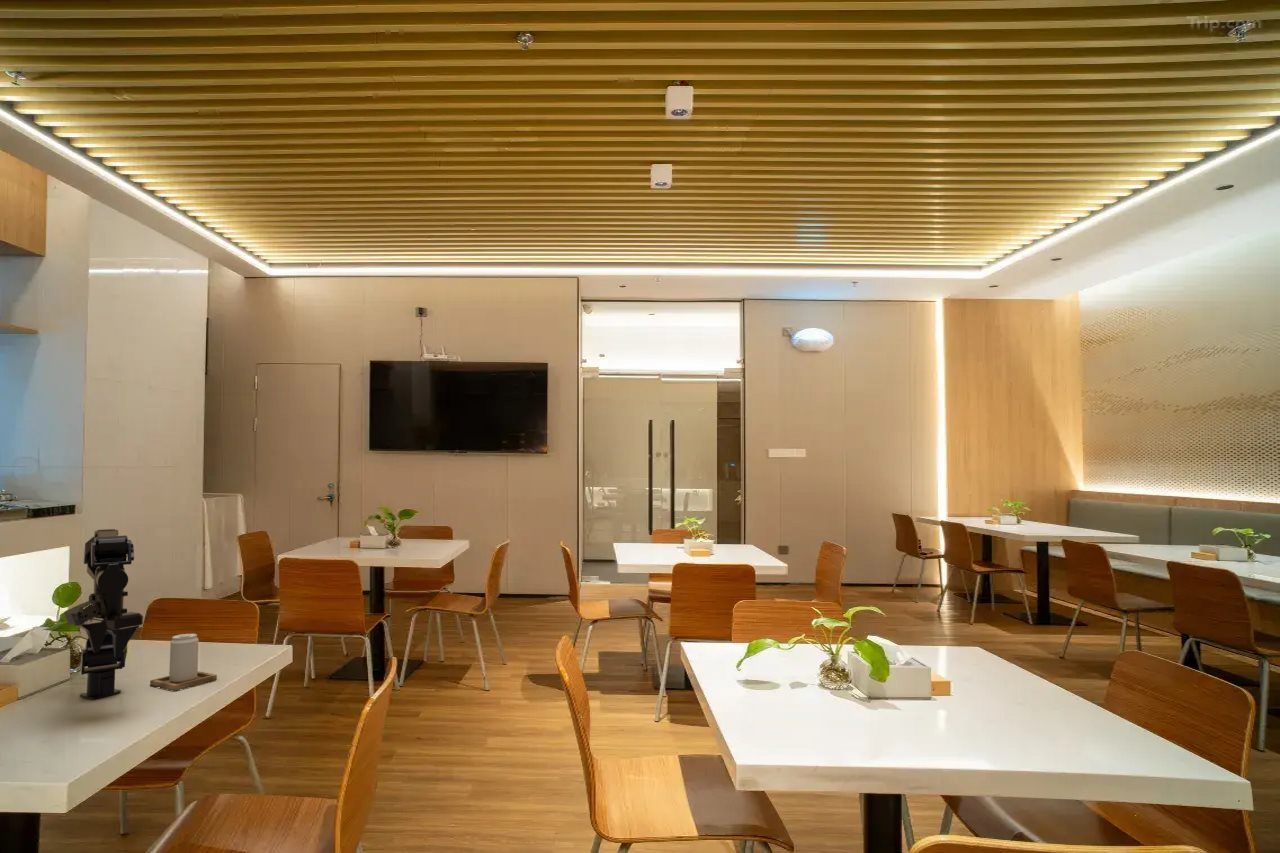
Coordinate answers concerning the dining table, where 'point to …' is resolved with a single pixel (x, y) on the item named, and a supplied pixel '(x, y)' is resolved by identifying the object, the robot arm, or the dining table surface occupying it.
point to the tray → (199, 680)
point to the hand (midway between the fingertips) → (106, 654)
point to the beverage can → (183, 658)
